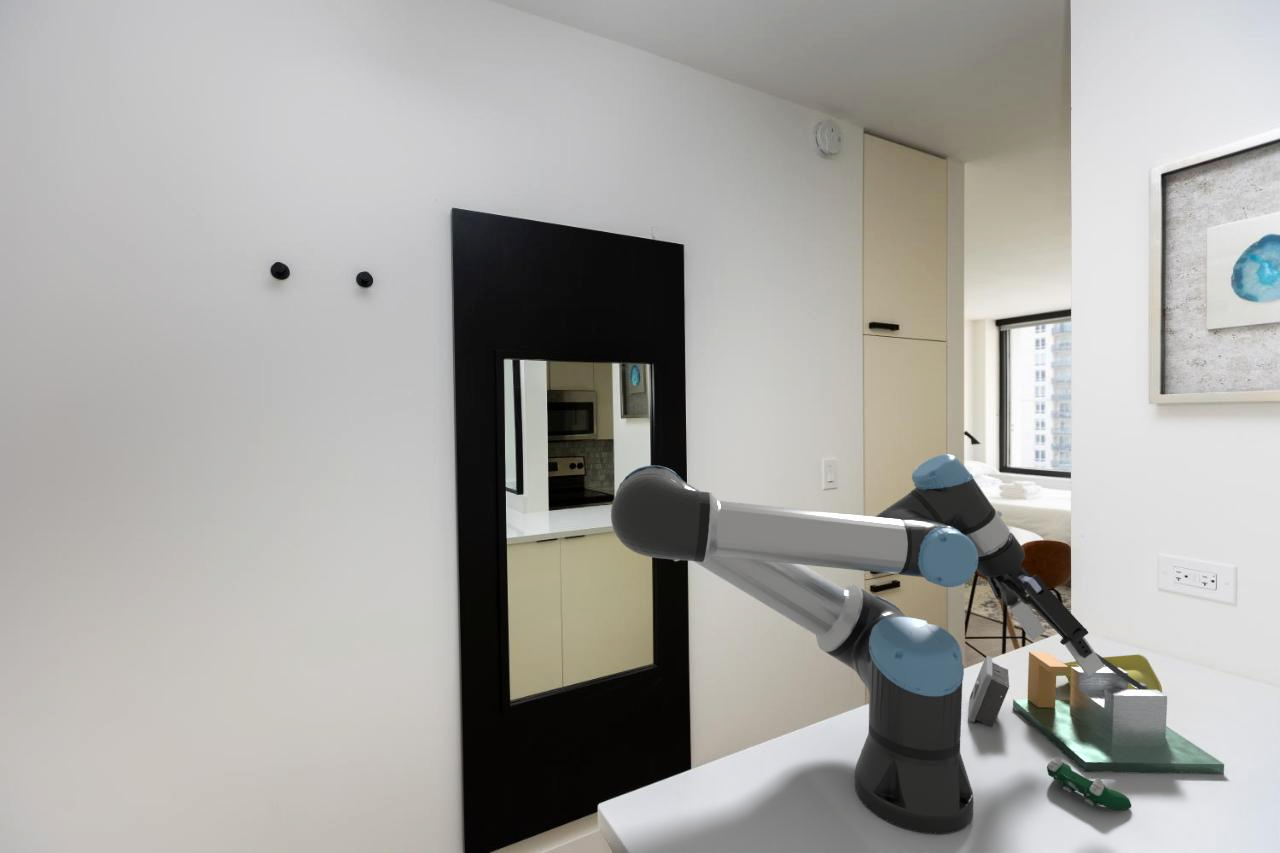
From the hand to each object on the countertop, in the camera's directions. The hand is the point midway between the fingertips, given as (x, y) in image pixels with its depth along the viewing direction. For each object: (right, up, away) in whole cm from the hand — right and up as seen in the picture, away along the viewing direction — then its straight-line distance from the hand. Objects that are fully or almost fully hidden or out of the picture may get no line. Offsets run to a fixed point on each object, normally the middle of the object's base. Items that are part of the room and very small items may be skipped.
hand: (1064, 651), depth 99 cm
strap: (+10, -5, +3) cm, 12 cm away
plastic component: (+20, -15, +20) cm, 32 cm away
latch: (+3, -13, +10) cm, 17 cm away
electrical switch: (-7, -15, +11) cm, 20 cm away
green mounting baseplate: (+9, -15, +3) cm, 18 cm away
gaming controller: (-5, -16, -11) cm, 20 cm away
